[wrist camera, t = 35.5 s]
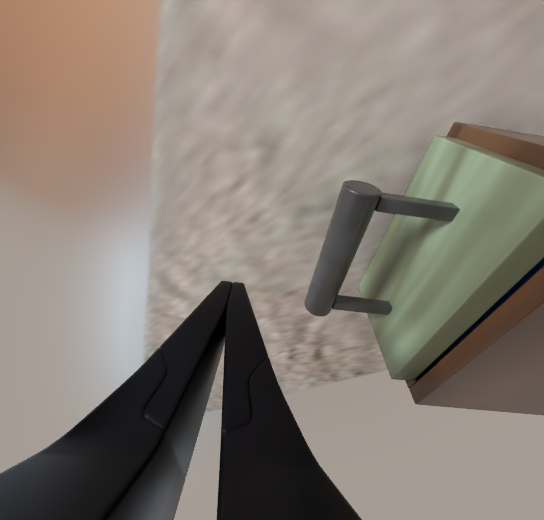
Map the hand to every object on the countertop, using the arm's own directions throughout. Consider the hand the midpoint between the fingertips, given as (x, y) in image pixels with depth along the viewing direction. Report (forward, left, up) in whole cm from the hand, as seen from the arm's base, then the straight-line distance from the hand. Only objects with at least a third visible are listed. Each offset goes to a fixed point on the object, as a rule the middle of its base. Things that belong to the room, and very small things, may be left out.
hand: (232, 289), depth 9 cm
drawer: (0, +13, -6) cm, 14 cm away
